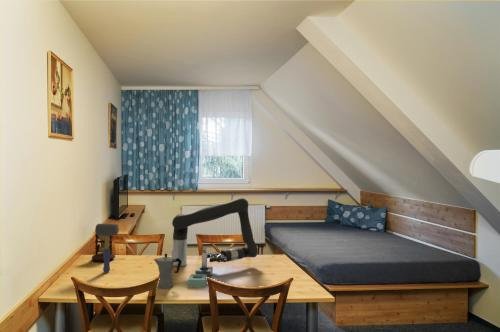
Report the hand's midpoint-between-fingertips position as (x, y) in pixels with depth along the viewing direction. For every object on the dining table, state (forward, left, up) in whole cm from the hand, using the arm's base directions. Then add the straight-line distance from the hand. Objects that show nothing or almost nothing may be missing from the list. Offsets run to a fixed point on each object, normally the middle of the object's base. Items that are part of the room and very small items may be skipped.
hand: (206, 258), depth 220 cm
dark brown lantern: (-75, +23, -10) cm, 79 cm away
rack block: (-2, -16, -10) cm, 19 cm away
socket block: (-1, -1, -10) cm, 10 cm away
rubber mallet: (-61, -2, -10) cm, 62 cm away
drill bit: (-1, -1, -10) cm, 10 cm away
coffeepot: (-18, -21, -10) cm, 29 cm away
